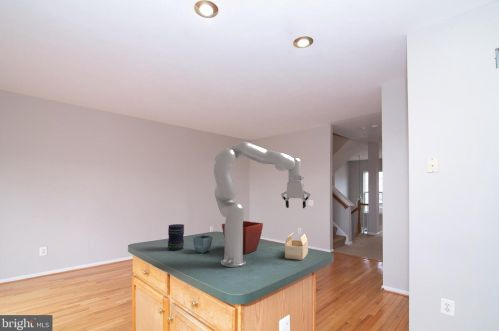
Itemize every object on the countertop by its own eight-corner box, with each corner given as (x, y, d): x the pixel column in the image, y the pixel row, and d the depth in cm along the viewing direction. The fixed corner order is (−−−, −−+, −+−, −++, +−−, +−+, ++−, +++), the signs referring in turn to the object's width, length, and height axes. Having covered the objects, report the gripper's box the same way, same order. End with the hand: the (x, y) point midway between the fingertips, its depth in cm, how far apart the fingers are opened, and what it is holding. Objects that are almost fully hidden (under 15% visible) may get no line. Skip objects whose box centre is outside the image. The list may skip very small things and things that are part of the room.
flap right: (302, 245, 134) (303, 245, 134) (299, 238, 135) (300, 237, 135) (306, 240, 146) (307, 240, 146) (304, 233, 147) (305, 233, 147)
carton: (302, 260, 132) (302, 247, 132) (284, 258, 136) (284, 245, 136) (308, 252, 147) (307, 240, 148) (291, 250, 151) (291, 239, 152)
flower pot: (212, 251, 151) (213, 236, 152) (202, 254, 143) (203, 238, 144) (202, 249, 156) (202, 234, 156) (192, 252, 148) (192, 237, 149)
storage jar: (186, 247, 159) (187, 224, 160) (178, 251, 149) (179, 226, 151) (172, 246, 161) (173, 223, 162) (164, 250, 152) (165, 226, 153)
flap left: (288, 237, 138) (287, 236, 138) (285, 244, 138) (285, 243, 138) (293, 232, 150) (293, 232, 150) (291, 239, 150) (290, 239, 150)
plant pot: (245, 257, 138) (245, 227, 139) (220, 251, 149) (220, 223, 150) (263, 250, 153) (263, 223, 154) (240, 245, 164) (240, 220, 166)
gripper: (310, 178, 146) (311, 207, 144) (282, 179, 152) (283, 207, 151) (308, 178, 139) (309, 209, 137) (279, 179, 145) (279, 208, 144)
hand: (295, 208), depth 144 cm, fingers open, 9 cm apart
